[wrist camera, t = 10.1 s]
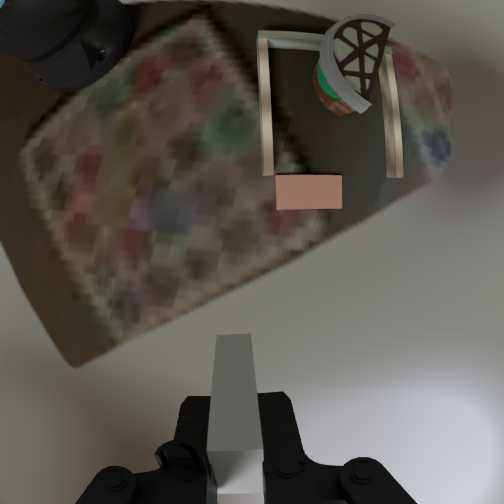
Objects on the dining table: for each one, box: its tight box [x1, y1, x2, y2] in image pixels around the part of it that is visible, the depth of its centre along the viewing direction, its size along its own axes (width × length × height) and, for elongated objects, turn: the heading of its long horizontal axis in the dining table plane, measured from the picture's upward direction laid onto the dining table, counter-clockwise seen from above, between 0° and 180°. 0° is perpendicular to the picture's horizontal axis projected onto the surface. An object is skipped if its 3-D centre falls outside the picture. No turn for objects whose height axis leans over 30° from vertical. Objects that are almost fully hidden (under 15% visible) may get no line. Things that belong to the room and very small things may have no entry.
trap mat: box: [275, 175, 342, 210], centre depth 33 cm, size 4×8×1 cm, turn 92°
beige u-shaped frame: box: [256, 30, 403, 178], centre depth 30 cm, size 18×17×3 cm
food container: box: [312, 14, 395, 117], centre depth 25 cm, size 12×6×10 cm, turn 159°
